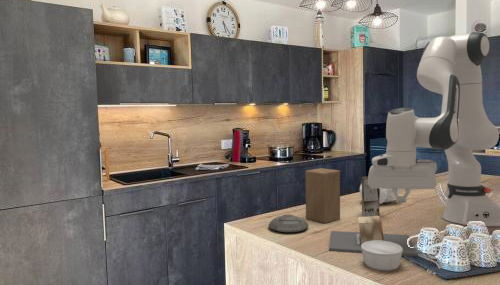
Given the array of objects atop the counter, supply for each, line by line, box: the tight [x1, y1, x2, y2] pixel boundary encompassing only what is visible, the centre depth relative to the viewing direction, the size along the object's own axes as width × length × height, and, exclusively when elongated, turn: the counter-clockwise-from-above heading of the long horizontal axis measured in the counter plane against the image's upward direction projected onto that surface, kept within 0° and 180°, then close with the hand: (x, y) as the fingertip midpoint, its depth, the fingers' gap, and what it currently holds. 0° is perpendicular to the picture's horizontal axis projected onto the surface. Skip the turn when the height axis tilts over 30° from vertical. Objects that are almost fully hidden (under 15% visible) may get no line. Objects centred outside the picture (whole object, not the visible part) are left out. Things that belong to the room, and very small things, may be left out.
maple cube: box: [358, 215, 384, 244], centre depth 125 cm, size 7×7×7 cm
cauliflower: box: [359, 174, 401, 205], centre depth 181 cm, size 20×18×16 cm
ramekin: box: [361, 240, 403, 272], centre depth 108 cm, size 11×11×5 cm
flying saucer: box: [267, 214, 309, 233], centre depth 144 cm, size 15×15×6 cm
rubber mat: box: [328, 230, 419, 258], centre depth 126 cm, size 26×18×1 cm
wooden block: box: [305, 167, 341, 224], centre depth 155 cm, size 10×10×20 cm
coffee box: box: [361, 175, 380, 217], centre depth 158 cm, size 9×6×16 cm
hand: (401, 202), depth 122 cm, fingers closed
